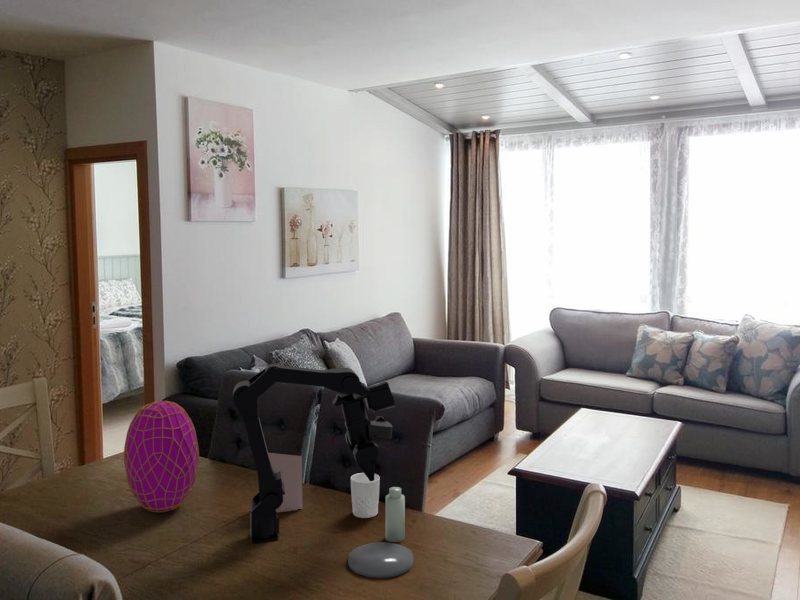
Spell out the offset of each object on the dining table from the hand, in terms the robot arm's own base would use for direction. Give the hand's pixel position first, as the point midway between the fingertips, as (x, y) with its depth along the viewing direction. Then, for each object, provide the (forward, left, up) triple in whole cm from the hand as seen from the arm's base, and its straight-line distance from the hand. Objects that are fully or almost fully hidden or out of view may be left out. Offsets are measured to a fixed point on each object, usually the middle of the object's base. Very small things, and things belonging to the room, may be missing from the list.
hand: (369, 474), depth 173 cm
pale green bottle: (+4, -8, -14) cm, 17 cm away
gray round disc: (-3, -19, -14) cm, 24 cm away
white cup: (+1, +9, -14) cm, 17 cm away
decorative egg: (-51, +29, -14) cm, 60 cm away
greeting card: (-21, +18, -14) cm, 31 cm away
